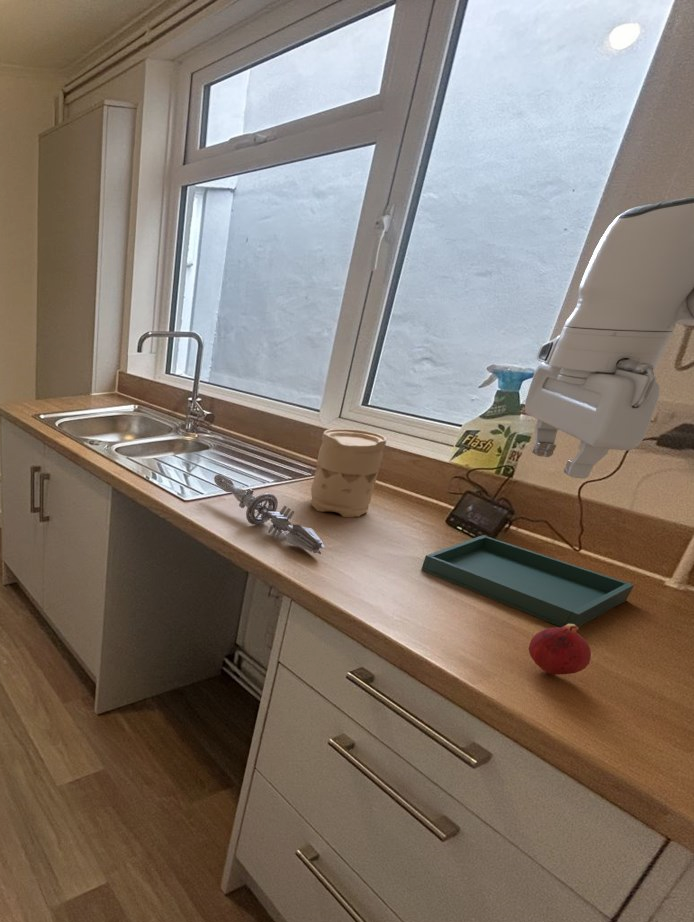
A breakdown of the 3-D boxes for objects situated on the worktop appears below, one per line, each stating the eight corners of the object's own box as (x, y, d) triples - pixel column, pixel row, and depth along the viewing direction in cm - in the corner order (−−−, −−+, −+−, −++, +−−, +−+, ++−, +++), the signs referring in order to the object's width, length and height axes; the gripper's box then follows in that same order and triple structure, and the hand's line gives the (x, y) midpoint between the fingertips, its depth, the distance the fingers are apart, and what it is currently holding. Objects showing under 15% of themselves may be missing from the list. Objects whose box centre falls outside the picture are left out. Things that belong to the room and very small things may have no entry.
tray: (626, 600, 89) (634, 584, 88) (571, 631, 81) (578, 614, 80) (478, 548, 107) (483, 534, 106) (420, 569, 99) (425, 555, 98)
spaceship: (234, 466, 132) (211, 458, 129) (345, 537, 102) (319, 528, 99) (217, 494, 135) (195, 486, 131) (322, 570, 105) (296, 563, 102)
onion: (564, 693, 69) (588, 642, 66) (511, 666, 74) (532, 618, 71) (587, 680, 71) (612, 631, 68) (534, 655, 76) (555, 608, 73)
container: (372, 520, 120) (392, 444, 113) (310, 513, 124) (327, 439, 118) (361, 501, 131) (380, 431, 124) (305, 495, 135) (320, 426, 128)
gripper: (702, 367, 52) (637, 496, 58) (595, 347, 70) (552, 448, 75) (618, 363, 55) (562, 487, 60) (534, 345, 72) (497, 442, 77)
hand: (556, 465), depth 68 cm, fingers open, 8 cm apart
